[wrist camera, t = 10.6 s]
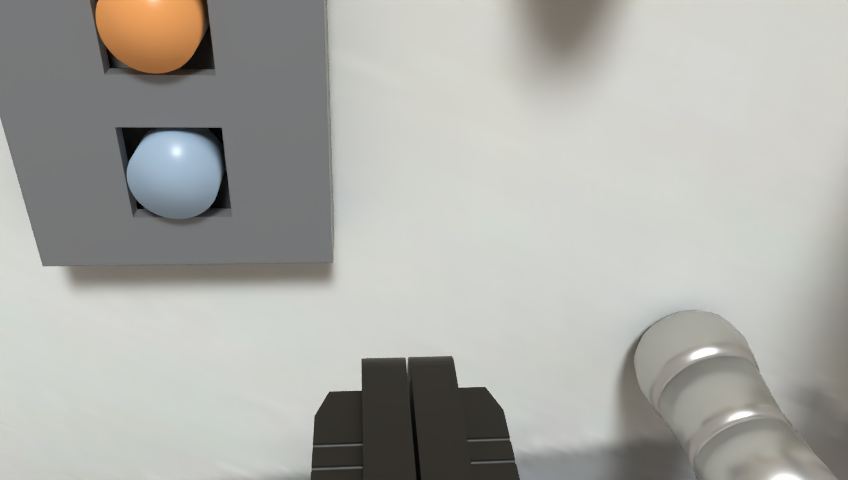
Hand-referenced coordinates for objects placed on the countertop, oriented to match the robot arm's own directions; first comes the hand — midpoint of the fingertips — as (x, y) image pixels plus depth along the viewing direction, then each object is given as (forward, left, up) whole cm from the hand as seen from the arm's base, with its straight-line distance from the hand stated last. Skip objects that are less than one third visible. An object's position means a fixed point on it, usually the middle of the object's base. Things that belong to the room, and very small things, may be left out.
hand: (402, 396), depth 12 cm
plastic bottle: (-19, +20, -25) cm, 37 cm away
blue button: (+9, +7, -24) cm, 26 cm away
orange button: (+9, 0, -24) cm, 25 cm away
